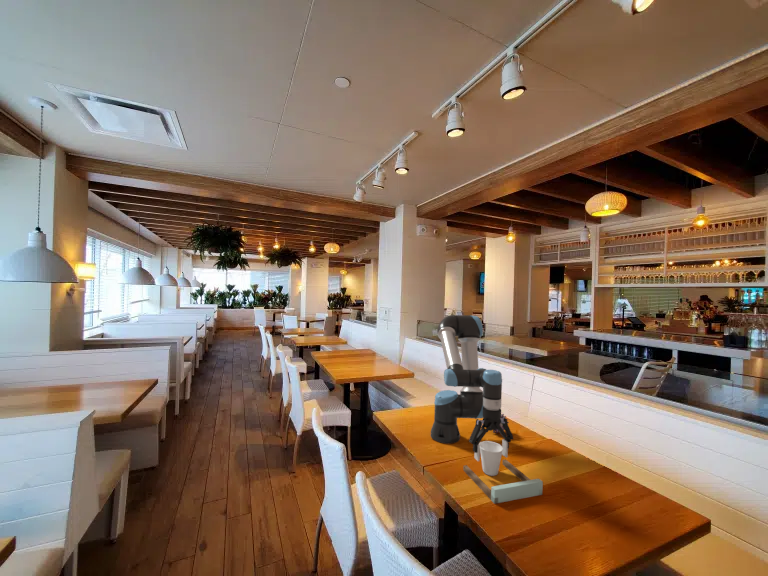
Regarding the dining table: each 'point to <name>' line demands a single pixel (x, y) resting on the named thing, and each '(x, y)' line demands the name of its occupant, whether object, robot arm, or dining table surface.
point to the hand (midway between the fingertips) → (491, 457)
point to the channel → (484, 486)
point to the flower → (500, 424)
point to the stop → (516, 490)
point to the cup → (490, 457)
